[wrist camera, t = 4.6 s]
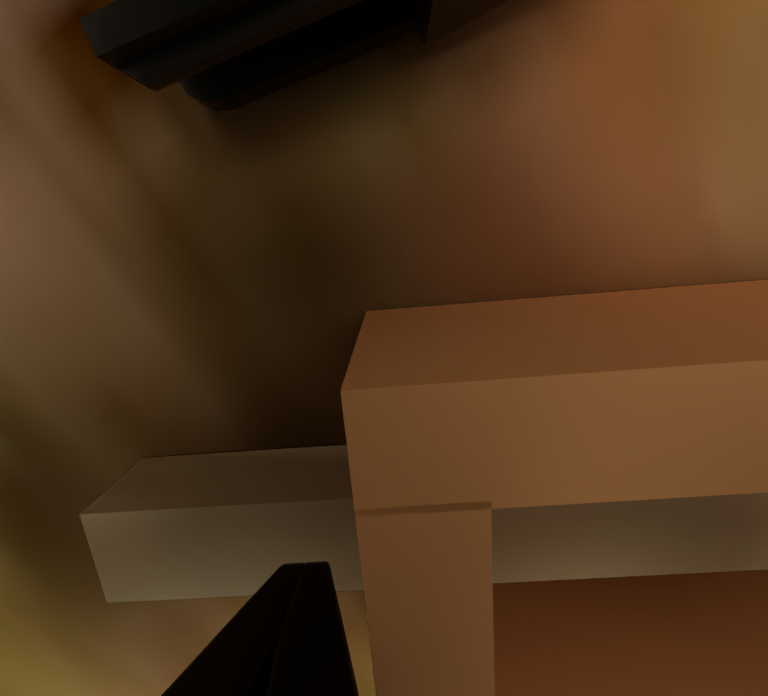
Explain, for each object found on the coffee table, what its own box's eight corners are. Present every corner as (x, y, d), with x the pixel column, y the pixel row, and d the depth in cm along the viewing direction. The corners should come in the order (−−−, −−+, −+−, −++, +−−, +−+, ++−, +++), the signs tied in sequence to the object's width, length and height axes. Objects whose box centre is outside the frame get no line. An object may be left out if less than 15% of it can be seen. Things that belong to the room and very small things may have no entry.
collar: (803, 601, 10) (1101, 868, 6) (395, 621, 11) (398, 886, 6) (876, 270, 8) (1414, 313, 4) (366, 310, 9) (340, 390, 4)
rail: (1061, 740, 11) (1241, 876, 9) (222, 769, 12) (180, 900, 10) (1457, -98, 7) (2065, -285, 4) (37, 49, 8) (-132, -37, 5)
